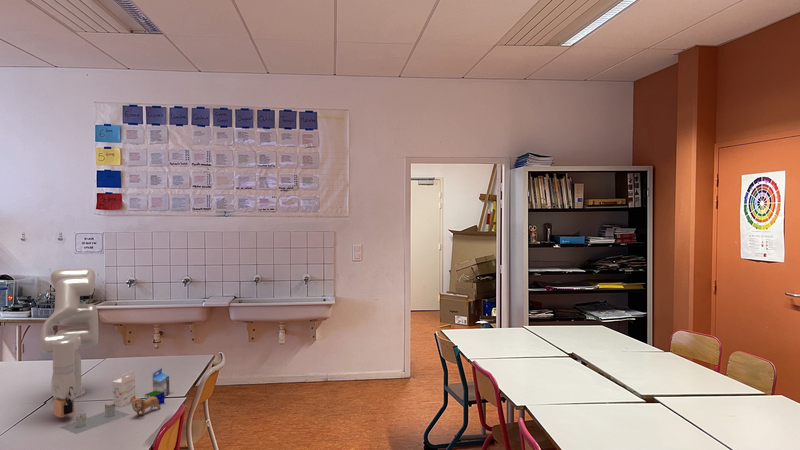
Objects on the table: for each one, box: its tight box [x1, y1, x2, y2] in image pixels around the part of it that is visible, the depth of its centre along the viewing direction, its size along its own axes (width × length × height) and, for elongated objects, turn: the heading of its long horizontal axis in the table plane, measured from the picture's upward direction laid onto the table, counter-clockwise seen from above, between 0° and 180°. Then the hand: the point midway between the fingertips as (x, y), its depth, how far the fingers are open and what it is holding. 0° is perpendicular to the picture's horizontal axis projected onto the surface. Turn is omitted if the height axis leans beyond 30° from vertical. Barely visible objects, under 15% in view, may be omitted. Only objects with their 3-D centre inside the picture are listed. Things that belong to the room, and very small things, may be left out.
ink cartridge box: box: [112, 369, 136, 407], centre depth 229 cm, size 9×5×15 cm, turn 168°
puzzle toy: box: [144, 390, 165, 408], centre depth 228 cm, size 6×6×6 cm
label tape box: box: [152, 367, 171, 397], centre depth 240 cm, size 9×4×12 cm, turn 179°
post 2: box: [104, 401, 116, 417], centre depth 214 cm, size 3×3×5 cm
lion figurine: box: [131, 397, 161, 417], centre depth 218 cm, size 15×5×9 cm, turn 164°
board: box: [58, 409, 131, 434], centre depth 209 cm, size 12×22×1 cm, turn 151°
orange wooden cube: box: [53, 395, 75, 418], centre depth 210 cm, size 5×5×7 cm
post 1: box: [74, 411, 87, 428], centre depth 204 cm, size 3×3×5 cm
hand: (64, 411), depth 211 cm, fingers closed on orange wooden cube, 5 cm apart
